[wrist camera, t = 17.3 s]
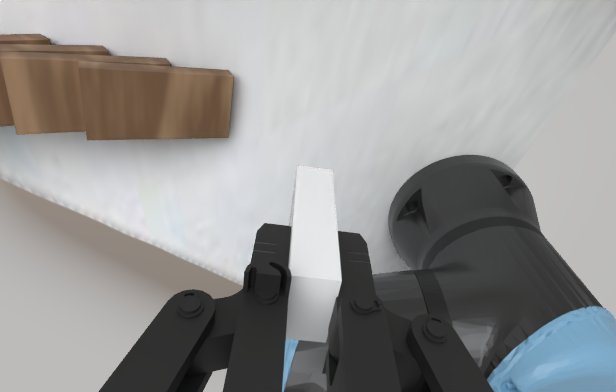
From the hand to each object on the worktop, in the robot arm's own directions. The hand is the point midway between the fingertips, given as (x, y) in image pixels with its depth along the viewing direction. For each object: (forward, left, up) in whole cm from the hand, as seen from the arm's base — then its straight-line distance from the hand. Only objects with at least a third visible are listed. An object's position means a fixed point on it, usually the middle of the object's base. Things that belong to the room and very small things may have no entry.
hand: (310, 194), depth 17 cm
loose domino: (0, +9, -21) cm, 23 cm away
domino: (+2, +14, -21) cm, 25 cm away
